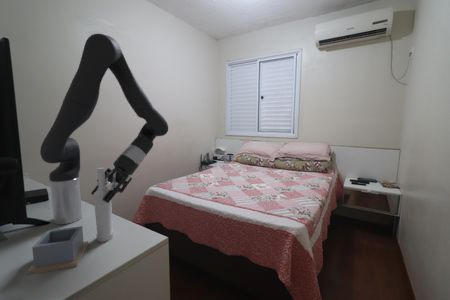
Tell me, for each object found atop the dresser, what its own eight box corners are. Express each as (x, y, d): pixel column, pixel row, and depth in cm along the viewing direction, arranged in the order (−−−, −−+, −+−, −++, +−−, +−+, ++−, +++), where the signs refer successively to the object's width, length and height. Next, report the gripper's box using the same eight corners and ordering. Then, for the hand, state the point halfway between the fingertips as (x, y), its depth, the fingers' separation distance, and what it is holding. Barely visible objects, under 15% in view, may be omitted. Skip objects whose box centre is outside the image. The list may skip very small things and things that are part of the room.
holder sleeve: (48, 249, 66) (45, 229, 65) (88, 244, 69) (86, 224, 68) (28, 274, 56) (25, 250, 55) (76, 266, 59) (74, 243, 58)
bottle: (93, 240, 72) (87, 169, 68) (106, 232, 76) (101, 165, 73) (104, 243, 70) (99, 170, 66) (117, 235, 75) (113, 167, 71)
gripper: (113, 151, 79) (80, 188, 72) (133, 156, 71) (99, 198, 63) (127, 163, 84) (98, 198, 77) (148, 168, 76) (118, 208, 68)
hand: (99, 198), depth 70 cm, fingers open, 8 cm apart
